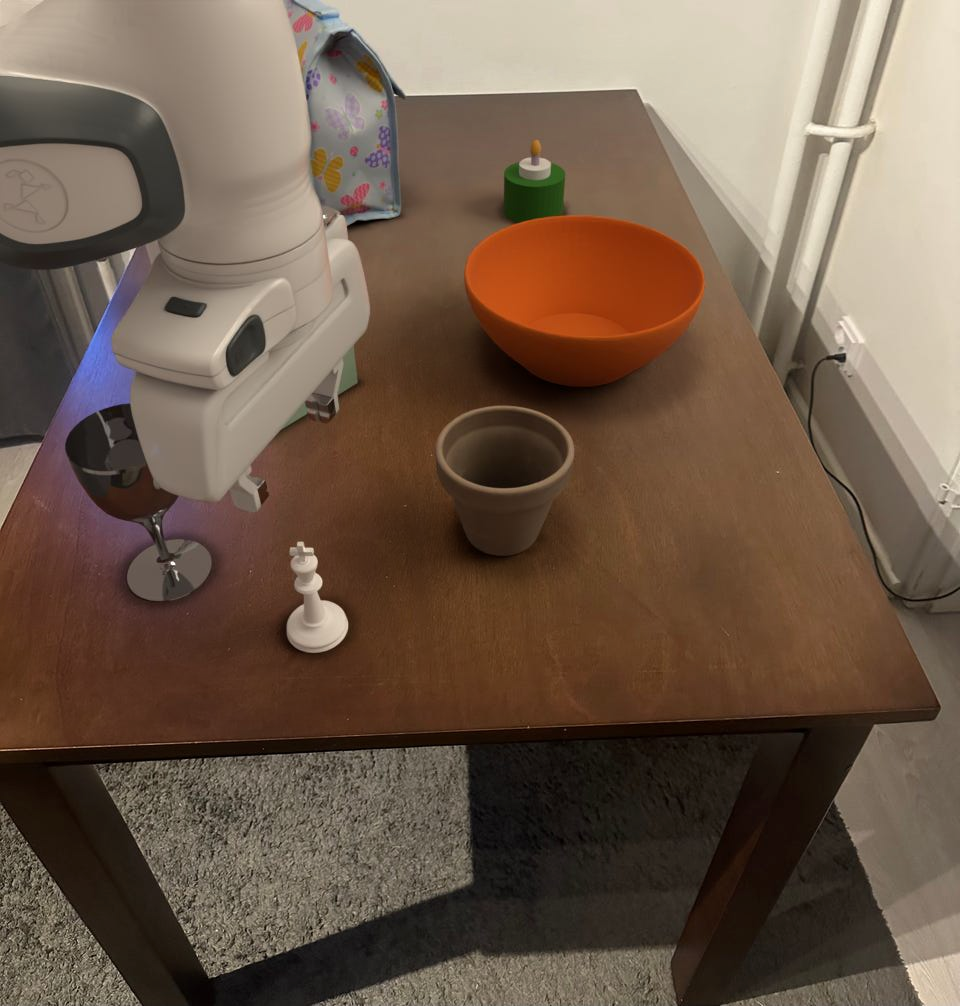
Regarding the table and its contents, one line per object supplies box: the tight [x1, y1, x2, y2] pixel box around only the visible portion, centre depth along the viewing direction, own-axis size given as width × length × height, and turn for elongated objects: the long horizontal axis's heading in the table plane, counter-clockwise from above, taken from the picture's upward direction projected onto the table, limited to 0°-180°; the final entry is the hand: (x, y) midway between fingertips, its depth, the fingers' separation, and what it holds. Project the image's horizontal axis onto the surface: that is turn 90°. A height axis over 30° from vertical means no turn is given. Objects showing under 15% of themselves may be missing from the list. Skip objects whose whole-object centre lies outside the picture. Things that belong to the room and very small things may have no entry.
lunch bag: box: [283, 0, 407, 227], centre depth 118 cm, size 22×17×26 cm
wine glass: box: [64, 402, 213, 603], centre depth 71 cm, size 8×8×15 cm
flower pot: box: [434, 405, 576, 557], centre depth 77 cm, size 12×11×10 cm
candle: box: [503, 139, 566, 224], centre depth 121 cm, size 8×8×10 cm
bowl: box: [463, 214, 706, 388], centre depth 97 cm, size 25×25×10 cm
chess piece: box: [286, 541, 349, 654], centre depth 69 cm, size 5×5×10 cm
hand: (290, 457), depth 59 cm, fingers open, 8 cm apart
